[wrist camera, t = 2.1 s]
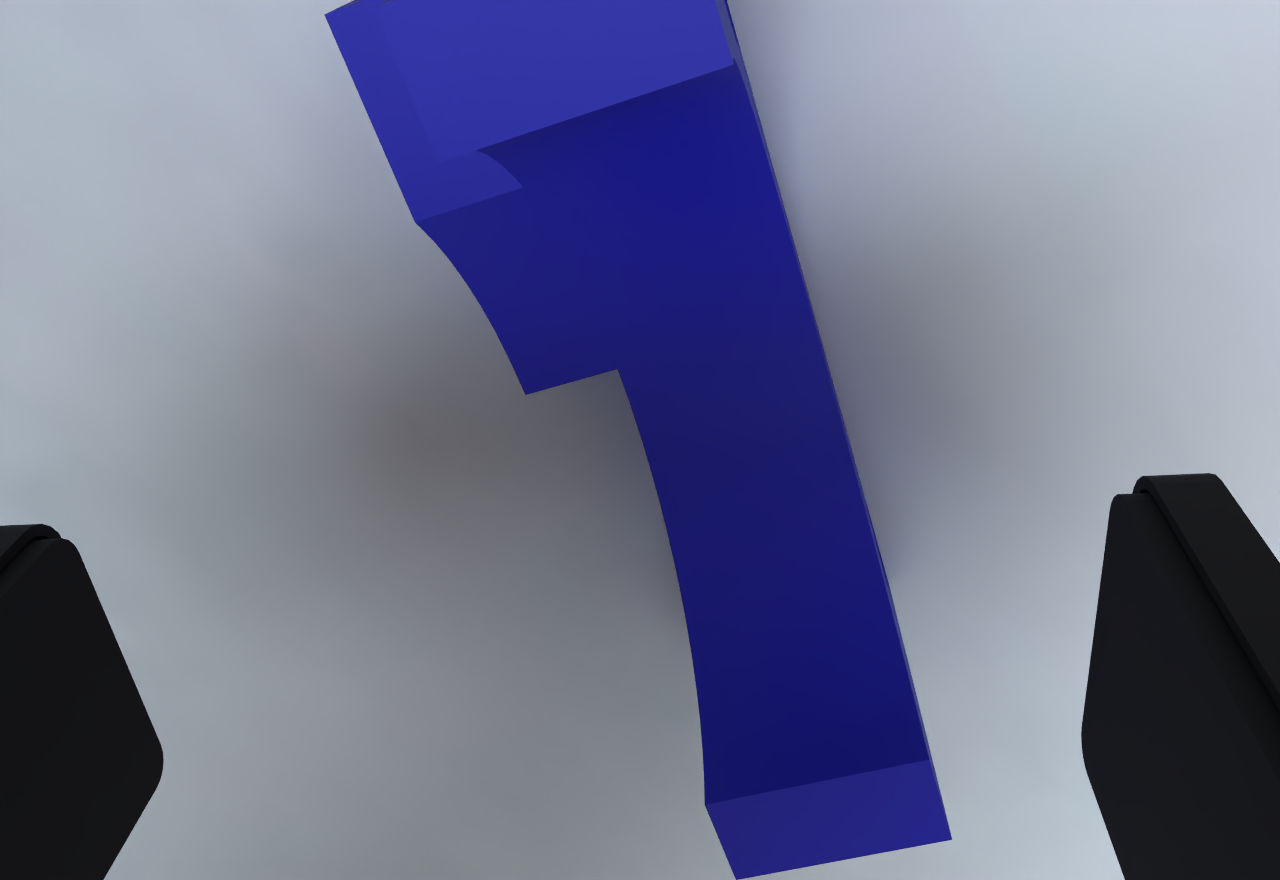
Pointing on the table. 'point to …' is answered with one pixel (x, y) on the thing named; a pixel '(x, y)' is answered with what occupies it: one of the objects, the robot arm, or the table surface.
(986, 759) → the table surface
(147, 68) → the table surface
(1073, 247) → the table surface
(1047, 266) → the table surface
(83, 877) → the robot arm
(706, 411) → the cable clip
